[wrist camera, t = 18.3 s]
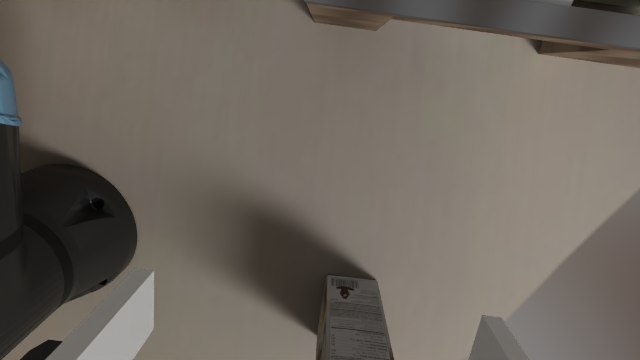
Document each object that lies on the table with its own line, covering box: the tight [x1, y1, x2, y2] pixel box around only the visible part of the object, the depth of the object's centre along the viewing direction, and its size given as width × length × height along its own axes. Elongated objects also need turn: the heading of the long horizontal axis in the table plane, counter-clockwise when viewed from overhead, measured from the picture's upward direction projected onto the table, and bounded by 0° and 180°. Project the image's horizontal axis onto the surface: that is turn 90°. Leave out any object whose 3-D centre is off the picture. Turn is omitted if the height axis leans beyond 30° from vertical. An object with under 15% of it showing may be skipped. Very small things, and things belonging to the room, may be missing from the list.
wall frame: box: [304, 0, 640, 68], centre depth 30 cm, size 34×2×14 cm, turn 82°
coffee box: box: [316, 275, 394, 360], centre depth 38 cm, size 9×6×16 cm
